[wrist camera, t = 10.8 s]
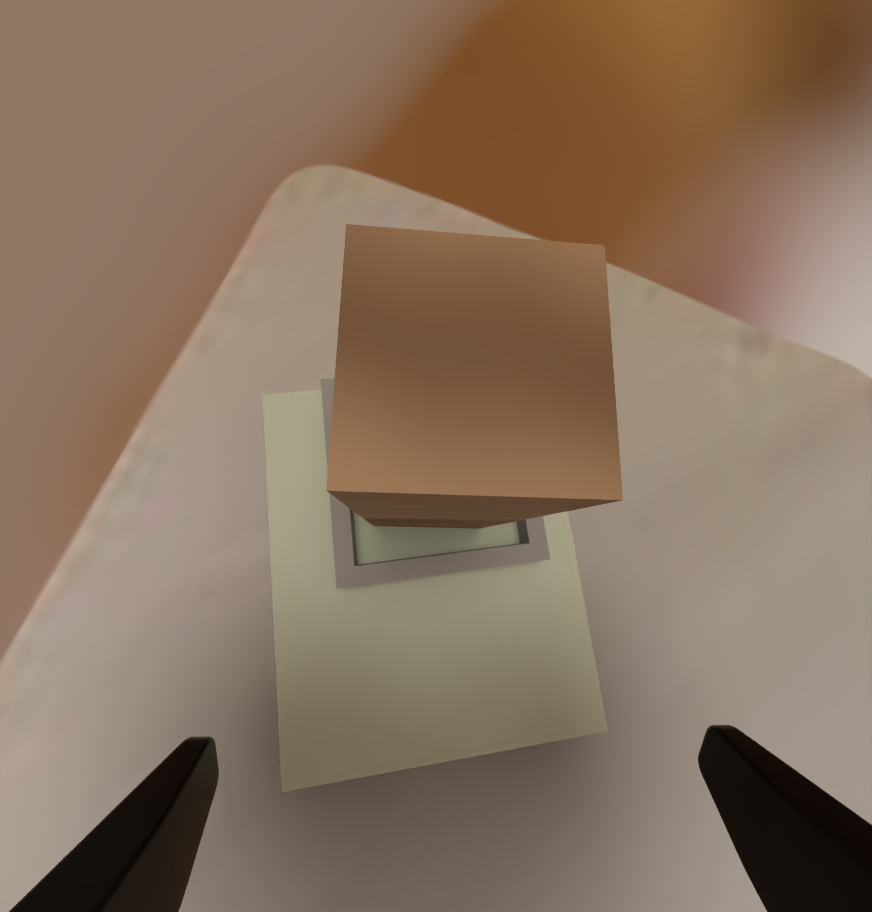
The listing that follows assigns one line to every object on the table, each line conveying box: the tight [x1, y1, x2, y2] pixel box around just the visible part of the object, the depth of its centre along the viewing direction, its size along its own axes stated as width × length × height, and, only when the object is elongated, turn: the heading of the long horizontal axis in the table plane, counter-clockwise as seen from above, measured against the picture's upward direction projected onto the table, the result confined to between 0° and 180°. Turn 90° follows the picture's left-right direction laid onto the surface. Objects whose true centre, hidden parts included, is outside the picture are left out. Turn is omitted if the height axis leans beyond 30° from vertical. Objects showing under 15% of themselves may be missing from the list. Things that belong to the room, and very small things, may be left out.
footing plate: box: [263, 378, 609, 793], centre depth 19 cm, size 17×14×3 cm
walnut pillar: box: [326, 224, 623, 529], centre depth 14 cm, size 5×5×13 cm
